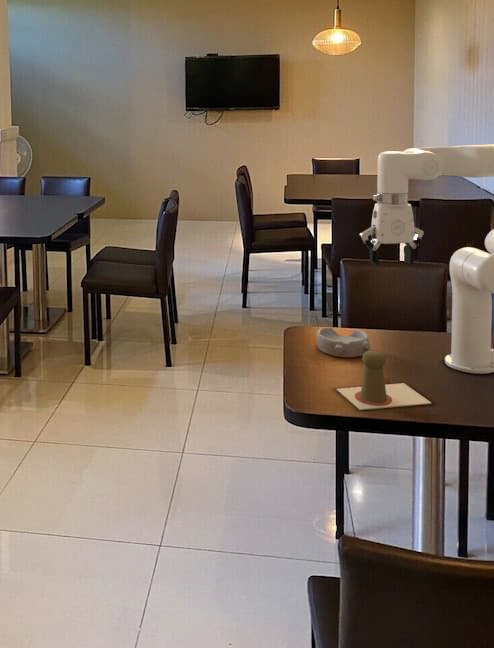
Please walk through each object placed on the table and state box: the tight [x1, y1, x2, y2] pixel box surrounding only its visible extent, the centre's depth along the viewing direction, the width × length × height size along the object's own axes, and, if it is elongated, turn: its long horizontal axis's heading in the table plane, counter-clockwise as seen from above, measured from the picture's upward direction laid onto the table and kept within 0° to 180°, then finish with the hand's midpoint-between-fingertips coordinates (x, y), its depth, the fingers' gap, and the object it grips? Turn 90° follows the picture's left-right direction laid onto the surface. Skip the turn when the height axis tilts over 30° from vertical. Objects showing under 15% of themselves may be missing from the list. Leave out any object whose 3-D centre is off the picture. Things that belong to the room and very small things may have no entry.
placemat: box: [336, 382, 433, 411], centre depth 177 cm, size 18×12×1 cm, turn 99°
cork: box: [360, 350, 387, 403], centre depth 175 cm, size 6×6×11 cm
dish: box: [316, 326, 371, 358], centre depth 208 cm, size 14×14×5 cm
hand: (391, 263), depth 192 cm, fingers open, 9 cm apart
